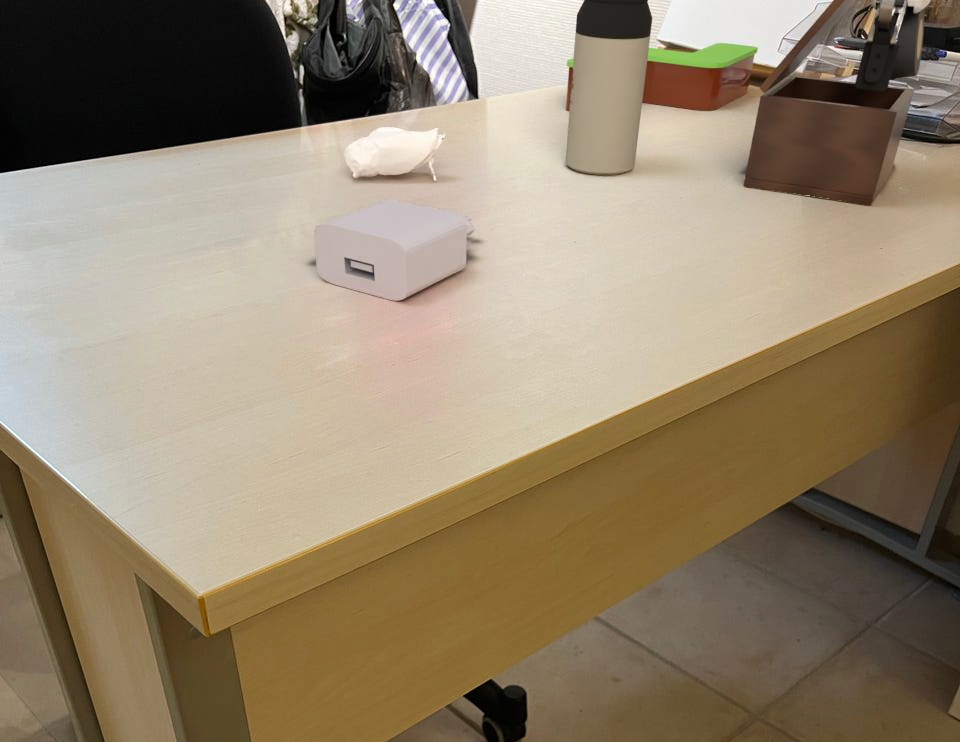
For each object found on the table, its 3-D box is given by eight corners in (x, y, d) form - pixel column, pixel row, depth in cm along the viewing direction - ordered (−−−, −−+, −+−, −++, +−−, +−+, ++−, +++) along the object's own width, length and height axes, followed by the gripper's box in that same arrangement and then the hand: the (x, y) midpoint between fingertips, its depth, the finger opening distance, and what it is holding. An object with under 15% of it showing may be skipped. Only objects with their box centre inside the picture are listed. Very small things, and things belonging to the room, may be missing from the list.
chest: (889, 176, 110) (914, 89, 104) (870, 206, 100) (897, 112, 94) (771, 159, 114) (789, 74, 108) (743, 186, 105) (760, 95, 99)
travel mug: (645, 166, 110) (669, -22, 98) (613, 180, 105) (635, -16, 93) (586, 154, 113) (602, -28, 102) (552, 168, 108) (565, -23, 97)
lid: (900, -52, 98) (862, -95, 97) (880, -42, 88) (838, -90, 87) (792, 73, 108) (757, 35, 107) (764, 93, 98) (725, 52, 98)
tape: (880, 69, 102) (921, 63, 100) (871, 90, 98) (913, 85, 96) (883, 0, 97) (926, -7, 95) (873, 19, 93) (917, 12, 92)
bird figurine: (426, 181, 107) (339, 160, 104) (442, 120, 102) (352, 95, 99) (431, 202, 104) (342, 181, 101) (448, 140, 99) (355, 116, 96)
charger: (503, 254, 85) (406, 304, 76) (420, 234, 89) (317, 280, 79) (506, 198, 82) (404, 243, 72) (419, 180, 86) (312, 220, 76)
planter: (683, 128, 125) (691, 77, 121) (560, 110, 132) (564, 61, 128) (751, 91, 145) (760, 47, 141) (641, 77, 152) (646, 34, 148)
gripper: (968, -134, 81) (901, 103, 92) (983, -135, 93) (922, 74, 104) (877, -138, 83) (823, 93, 95) (904, -139, 95) (853, 67, 107)
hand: (876, 81), depth 99 cm, fingers closed on tape, 6 cm apart
